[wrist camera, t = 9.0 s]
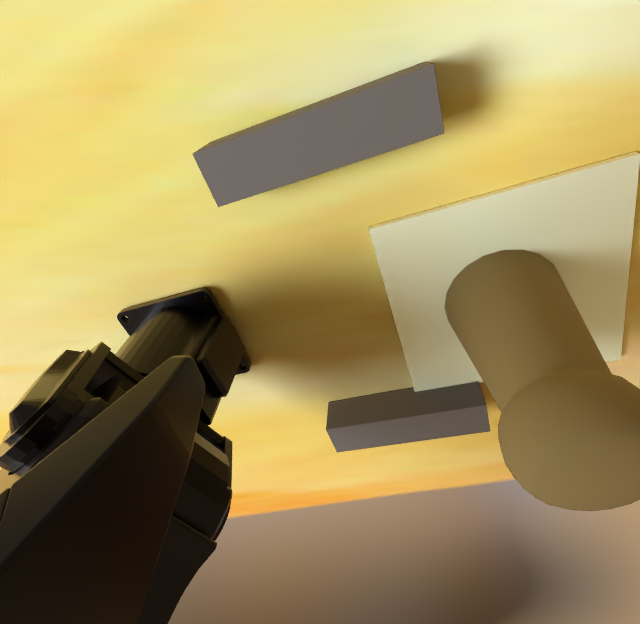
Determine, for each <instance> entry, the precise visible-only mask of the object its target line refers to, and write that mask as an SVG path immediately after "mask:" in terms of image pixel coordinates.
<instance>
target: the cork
mask: <svg viewBox="0 0 640 624" xmlns="http://www.w3.org/2000/svg"><path fill="white" fill-rule="evenodd" d="M444 308H445V311H446V315H447V319H448V321H449V323H450V325H451V327H452V328H453V330H454V332H455V334H456V335H457V337H458V339H459V340H460V342H461V344H462V346H463V347H464V349H465V351H466V352H467V354H468V356H469V358H470V359H471V361H472V363H473V364H474V366H475V368H476V370H477V371H478V373H479V375H480V377H481V378H482V380H483V382H484V383H485V385H486V387H487V389H488V390H489V392H490V394H491V395H492V397H493V399H494V401H495V402H496V404H497V406H498V408H499V409H500V411H501V417H500V420H499V424H498V438H499V442H500V447H501V451H502V454H503V457H504V461H505V464H506V466H507V467H508V469H509V470H510V472H511V473H512V475H513V476H514V478H515V479H516V480H517V481H518V482H519V483H520V484H521V486H522V487H523V488H524V489H525V490H526V491H528V492H529V493H530V494H532V495H533V496H534V497H535V498H537V499H539V500H541V501H543V502H545V503H546V504H548V505H551V506H556V507H560V508H564V509H570V510H581V511H597V510H605V509H613V508H616V507H620V506H624V505H628V504H631V503H633V502H635V501H637V500H640V389H638V388H637V387H636V386H634V385H633V384H631V383H630V382H628V381H627V380H625V379H624V378H622V377H620V376H616V375H612V374H611V372H610V370H609V368H608V366H607V364H606V362H605V361H604V359H603V357H602V355H601V353H600V351H599V349H598V347H597V345H596V343H595V341H594V339H593V338H592V336H591V334H590V332H589V330H588V328H587V326H586V324H585V322H584V320H583V318H582V317H581V315H580V313H579V311H578V309H577V307H576V305H575V303H574V301H573V299H572V297H571V295H570V294H569V292H568V290H567V288H566V286H565V284H564V282H563V280H562V278H561V276H560V275H559V273H558V271H557V269H556V268H555V266H554V264H553V263H551V262H550V261H549V260H547V259H546V258H545V257H543V256H542V255H540V254H537V253H533V252H530V251H526V250H501V251H498V252H494V253H491V254H488V255H484V256H482V257H481V258H479V259H477V260H475V261H474V262H472V263H470V264H469V265H467V266H466V267H465V268H464V269H463V270H462V271H461V272H460V273H459V274H458V275H457V276H456V277H455V278H454V279H453V281H452V283H451V285H450V287H449V289H448V291H447V293H446V300H445V307H444Z"/></svg>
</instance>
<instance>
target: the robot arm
mask: <svg viewBox="0 0 640 624" xmlns="http://www.w3.org/2000/svg"><path fill="white" fill-rule="evenodd" d="M201 295H204V296H206V297H207V299H205V298H203V297H202V296H201ZM125 316H127V317H128V318H126V317H125ZM117 318H118V320H119V322H120V323H121V325H122V326H123V327H124V329H125V330H126V331H127V333H128V334H129V335H130V337H129V338H128V339H127V341H126V342H125V343H124V344H123V346H122V347H121V348H120V349H119V351H118V352H117V353H116V354H114V353H112V352H111V351H110V350H111V349H110V348H109V347H108V346H107V345H105V344H104V343H103V342H100V343H99V344H98V345H97V346H95V347H94V348H93V349H92V350H86V351H85V352H84V351H82V352H78V351H71V350H66V351H65V352H63V353H62V354H61V355H60V356H59V357H58V358H57V359H56V360H55V361H54V362H53V363H52V364H51V365H50V366H49V367H48V368H47V369H46V370H45V371H44V372H43V374H42V375H41V376H40V377H39V378H38V379H37V380H36V381H35V382H34V383H33V384H32V386H31V387H30V388H29V389H28V390H27V392H26V393H25V394H24V395H23V397H22V398H21V399H20V400H19V402H18V403H17V404H16V405H15V407H14V408H13V409H12V410H11V412H10V413H9V425H10V429H9V431H8V432H7V434H6V436H5V437H4V439H3V442H2V444H1V446H0V467H1V468H2V470H1V471H0V624H168V622H169V620H170V618H171V615H172V614H173V612H174V610H175V608H176V605H177V603H178V602H179V600H180V598H181V596H182V594H183V593H184V591H185V589H186V587H187V586H188V584H189V583H190V581H191V580H192V578H193V577H194V575H195V574H196V572H197V571H198V569H199V568H200V567H201V566H202V564H203V563H204V562H205V561H206V560H207V559H208V557H209V556H210V555H211V554H212V553H213V552H214V550H215V549H216V546H217V543H216V542H215V540H216V539H217V537H218V535H219V534H220V532H221V530H222V528H223V526H224V524H225V521H226V519H227V517H228V513H229V510H230V504H231V499H232V489H231V480H232V441H230V440H229V439H228V438H226V437H225V436H224V437H222V436H221V435H219V434H218V433H217V432H216V431H214V430H213V429H212V428H210V427H209V426H208V425H210V424H211V422H212V420H213V417H214V415H215V412H216V410H217V407H218V405H219V402H220V400H221V397H225V396H227V394H228V392H229V389H230V387H231V384H232V382H233V379H234V376H235V375H237V374H242V373H246V372H248V371H249V370H250V367H251V361H250V359H249V358H248V356H247V354H246V352H245V347H244V345H243V344H242V342H241V340H240V338H239V336H238V335H237V333H236V331H235V329H234V327H233V326H232V324H231V322H230V320H229V319H228V318H227V317H226V316H225V315H224V313H223V311H222V309H221V308H220V306H219V304H218V302H217V300H216V299H215V297H214V295H213V293H212V292H211V291H210V290H209V289H207V288H199V289H195V290H192V291H188V292H184V293H181V294H177V295H173V296H170V297H166V298H162V299H158V300H155V301H151V302H147V303H144V304H140V305H136V306H133V307H129V308H125V309H123V310H121V311H120V312H119V314H118V315H117ZM241 364H243V365H245V366H243V365H241Z"/></svg>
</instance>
